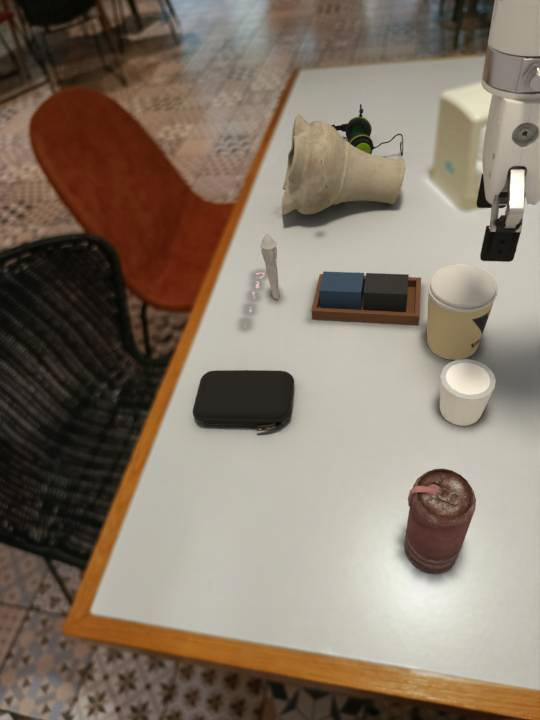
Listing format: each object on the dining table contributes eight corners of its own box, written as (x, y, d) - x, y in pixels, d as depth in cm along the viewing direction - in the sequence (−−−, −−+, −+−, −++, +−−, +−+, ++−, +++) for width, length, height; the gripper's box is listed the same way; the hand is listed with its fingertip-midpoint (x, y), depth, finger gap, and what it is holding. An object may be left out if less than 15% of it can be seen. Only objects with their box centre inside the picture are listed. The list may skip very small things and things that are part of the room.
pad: (407, 292, 90) (408, 274, 87) (405, 312, 87) (407, 294, 84) (366, 290, 92) (366, 272, 89) (363, 310, 89) (363, 292, 86)
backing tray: (420, 286, 92) (421, 277, 90) (418, 325, 86) (419, 316, 84) (320, 282, 96) (319, 273, 94) (312, 319, 90) (311, 310, 88)
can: (398, 524, 64) (405, 466, 54) (452, 522, 63) (469, 463, 53) (405, 574, 60) (414, 522, 50) (462, 574, 59) (484, 520, 49)
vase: (427, 112, 106) (291, 91, 105) (450, 145, 90) (289, 121, 89) (397, 212, 120) (277, 194, 119) (412, 257, 103) (272, 237, 102)
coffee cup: (480, 369, 78) (495, 310, 69) (416, 358, 81) (423, 300, 72) (486, 326, 84) (501, 266, 75) (426, 317, 87) (434, 258, 78)
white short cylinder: (446, 383, 77) (453, 351, 72) (493, 401, 74) (503, 370, 69) (427, 416, 74) (432, 385, 69) (475, 437, 71) (484, 406, 65)
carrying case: (191, 434, 77) (290, 436, 75) (186, 422, 75) (288, 424, 72) (204, 378, 84) (296, 378, 81) (200, 365, 82) (294, 365, 79)
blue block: (364, 290, 92) (364, 272, 89) (361, 310, 89) (361, 292, 86) (324, 288, 94) (323, 271, 91) (320, 308, 90) (318, 290, 87)
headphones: (405, 124, 111) (311, 133, 114) (403, 167, 118) (314, 173, 121) (399, 93, 121) (313, 101, 124) (397, 134, 129) (316, 140, 132)
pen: (273, 292, 96) (262, 227, 85) (286, 295, 95) (277, 230, 84) (267, 301, 94) (255, 236, 84) (280, 304, 93) (270, 239, 83)
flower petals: (256, 272, 100) (256, 270, 100) (266, 273, 100) (266, 270, 100) (239, 328, 91) (239, 326, 90) (250, 329, 91) (250, 326, 90)
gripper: (598, 107, 39) (539, 285, 51) (564, 25, 49) (522, 189, 62) (489, 111, 40) (458, 282, 53) (479, 31, 51) (456, 189, 64)
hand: (493, 231), depth 58 cm, fingers open, 9 cm apart
